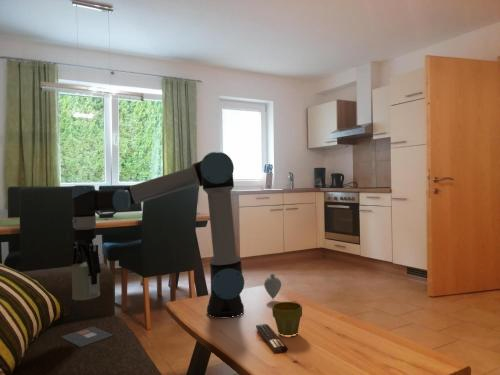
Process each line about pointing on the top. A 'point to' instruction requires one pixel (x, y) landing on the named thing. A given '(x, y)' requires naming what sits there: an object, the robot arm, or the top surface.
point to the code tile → (86, 336)
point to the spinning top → (272, 285)
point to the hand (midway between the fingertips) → (86, 291)
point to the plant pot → (287, 317)
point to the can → (82, 282)
